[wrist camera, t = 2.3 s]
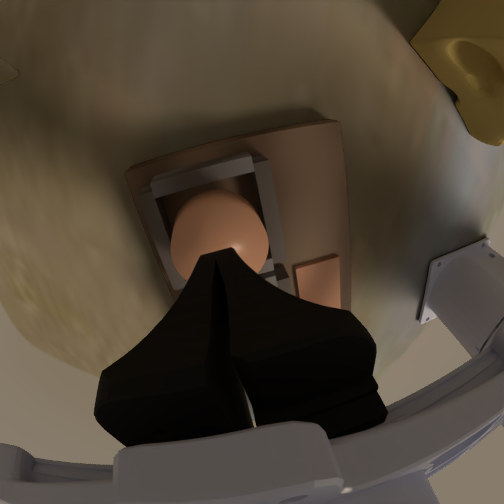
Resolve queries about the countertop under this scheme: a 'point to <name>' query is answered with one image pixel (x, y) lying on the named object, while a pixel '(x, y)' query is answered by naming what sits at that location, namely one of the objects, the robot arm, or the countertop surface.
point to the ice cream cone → (6, 72)
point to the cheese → (469, 61)
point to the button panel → (263, 203)
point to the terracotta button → (217, 230)
